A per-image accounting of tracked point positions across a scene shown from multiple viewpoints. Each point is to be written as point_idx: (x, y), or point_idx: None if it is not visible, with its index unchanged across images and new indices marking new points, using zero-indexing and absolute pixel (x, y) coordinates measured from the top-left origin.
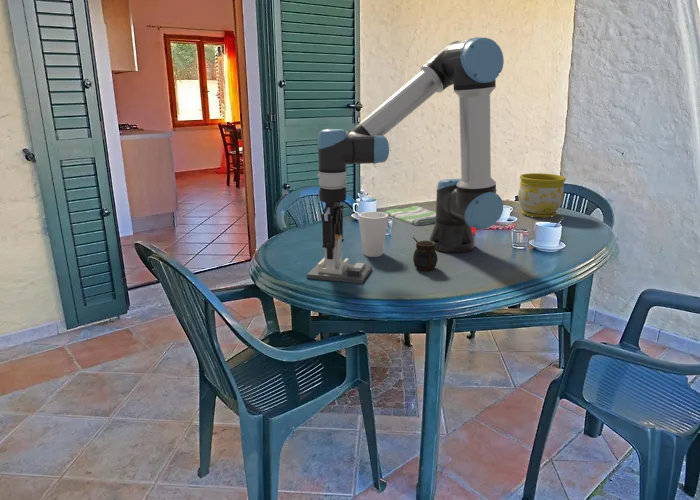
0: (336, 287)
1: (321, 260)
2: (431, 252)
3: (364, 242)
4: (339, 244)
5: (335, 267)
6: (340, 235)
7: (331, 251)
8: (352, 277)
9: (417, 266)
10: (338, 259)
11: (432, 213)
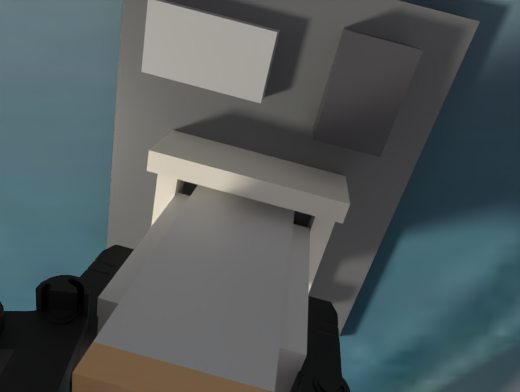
0: (505, 197)
1: None
2: None
3: None
4: (217, 324)
5: (303, 234)
6: (110, 389)
7: (339, 362)
8: (418, 101)
9: None
10: (278, 244)
11: None
